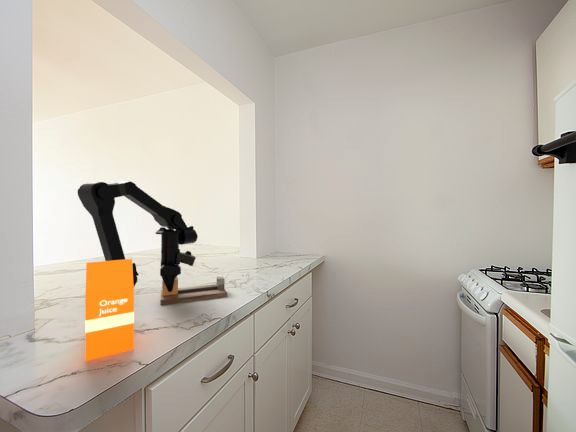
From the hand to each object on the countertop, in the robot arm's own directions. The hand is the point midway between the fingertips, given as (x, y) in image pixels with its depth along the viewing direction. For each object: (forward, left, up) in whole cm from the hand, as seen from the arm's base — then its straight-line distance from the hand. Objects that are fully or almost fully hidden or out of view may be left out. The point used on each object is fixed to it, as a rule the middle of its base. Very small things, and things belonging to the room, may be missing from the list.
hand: (170, 289), depth 93 cm
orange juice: (-31, +13, -3) cm, 34 cm away
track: (0, -8, -3) cm, 9 cm away
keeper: (0, 0, -1) cm, 1 cm away
